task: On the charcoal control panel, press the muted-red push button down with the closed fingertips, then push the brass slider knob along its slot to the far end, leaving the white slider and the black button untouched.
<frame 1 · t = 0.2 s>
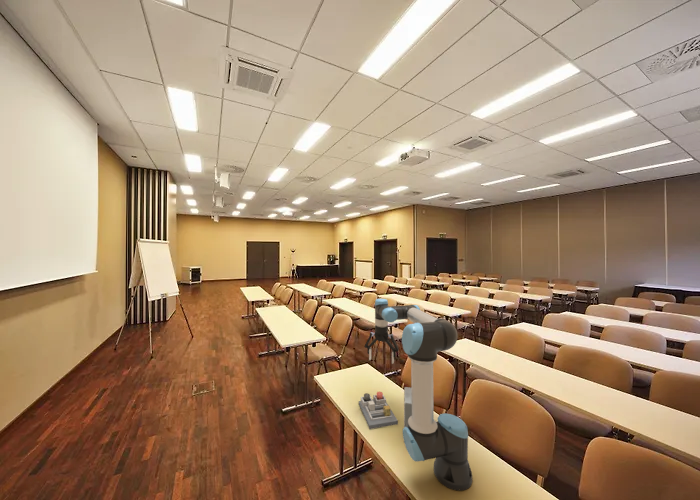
hand: (381, 360, 156), 28 cm above the table, fingers open, 13 cm apart
hard drive box: (411, 434, 135), on the table
panel: (377, 413, 151), on the table
slider brass: (386, 410, 147), point 4 cm above the table, slide at 0.0 cm
button red: (379, 395, 158), point 6 cm above the table, slide at 0.0 cm
slider white: (371, 406, 151), point 4 cm above the table, slide at 0.0 cm
button black: (366, 397, 156), point 6 cm above the table, slide at 0.0 cm
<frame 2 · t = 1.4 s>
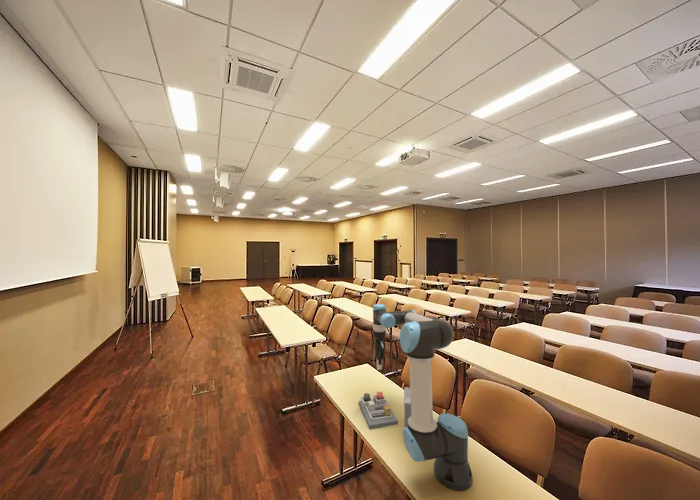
hand: (379, 369, 158), 22 cm above the table, fingers closed
nothing on the table moved.
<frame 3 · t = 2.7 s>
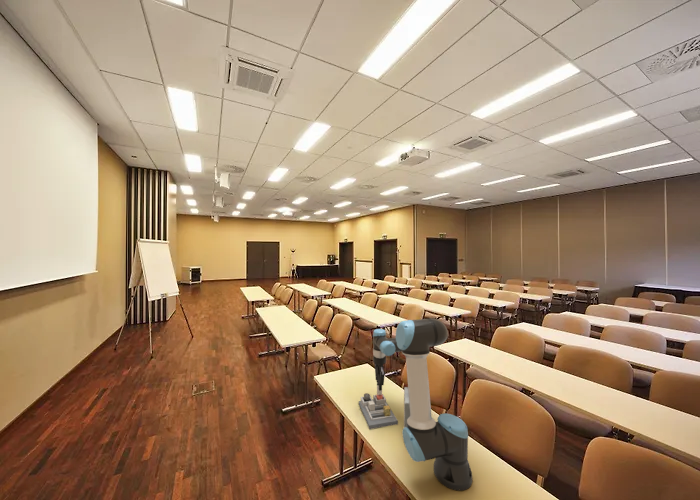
hand: (379, 394, 158), 7 cm above the table, fingers closed
button red: (379, 397, 158), point 5 cm above the table, slide at 1.1 cm, touching gripper
everything else where it was.
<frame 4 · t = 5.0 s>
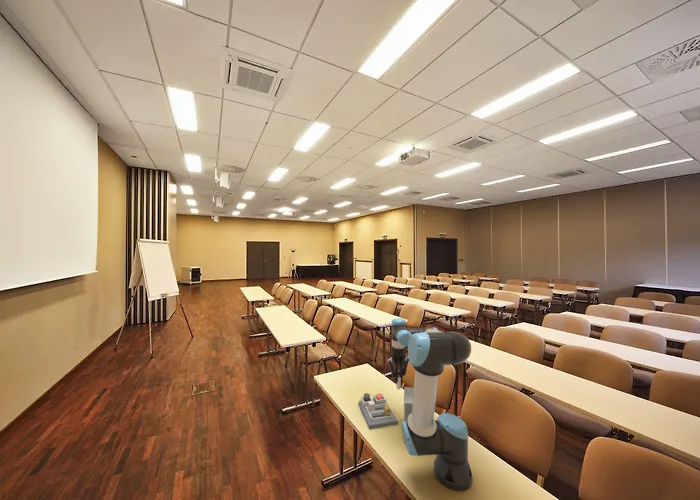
hand: (398, 387, 148), 16 cm above the table, fingers closed
button red: (379, 397, 158), point 5 cm above the table, slide at 1.3 cm
everything else where it was.
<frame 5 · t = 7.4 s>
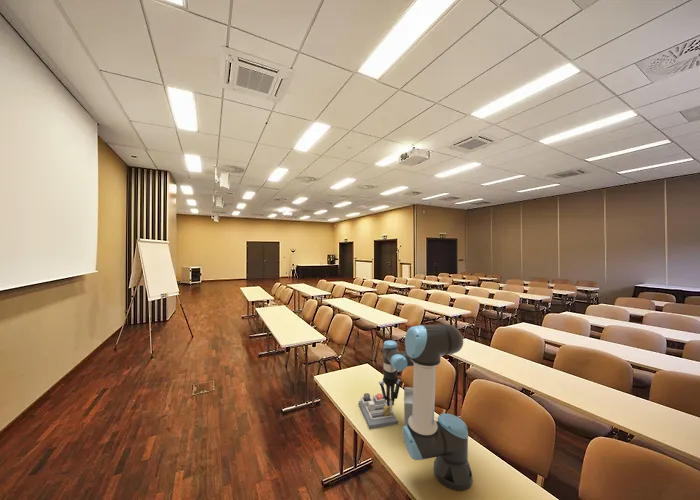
hand: (390, 411, 147), 4 cm above the table, fingers closed
slider brass: (386, 410, 146), point 4 cm above the table, slide at 0.1 cm, touching gripper
everything else where it was.
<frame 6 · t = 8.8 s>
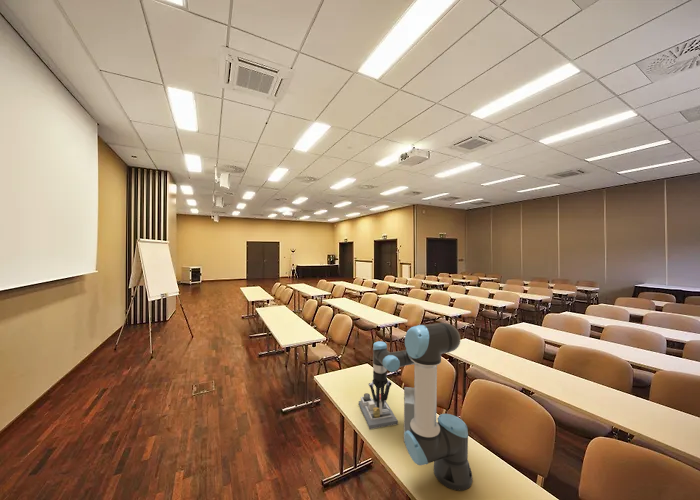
hand: (380, 412, 146), 4 cm above the table, fingers closed
slider brass: (376, 412, 145), point 4 cm above the table, slide at 6.1 cm, touching gripper
everything else where it was.
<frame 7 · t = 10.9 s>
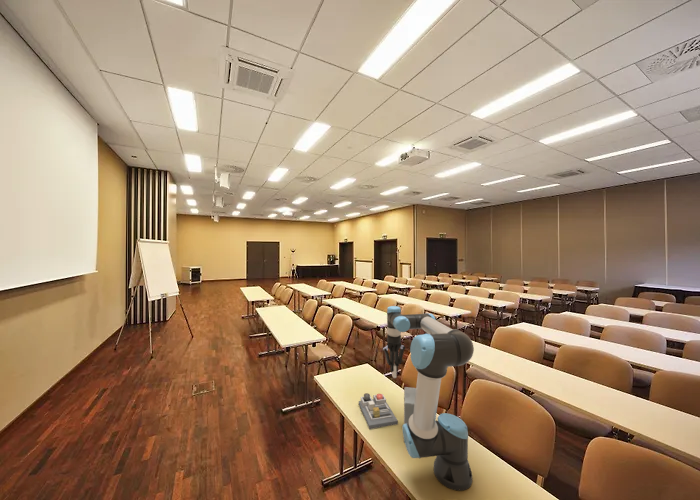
hand: (394, 376, 147), 23 cm above the table, fingers closed
slider brass: (376, 412, 145), point 4 cm above the table, slide at 6.2 cm
everything else where it was.
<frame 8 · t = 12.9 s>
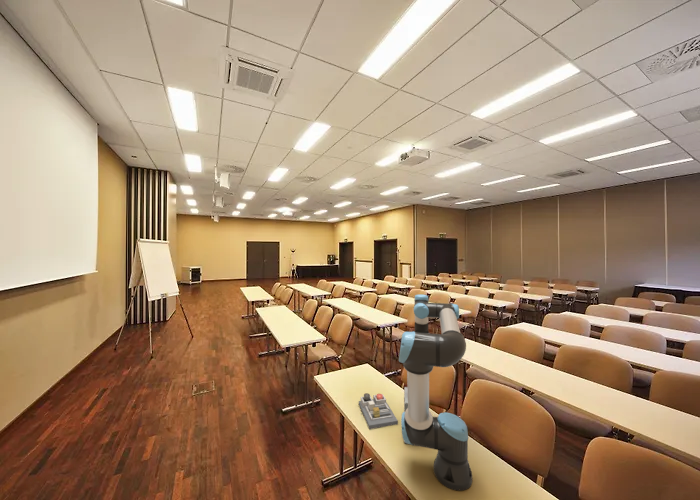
hand: (421, 363, 149), 29 cm above the table, fingers closed
nothing on the table moved.
at the end: button red slide at 1.3 cm; slider brass slide at 6.2 cm; slider white slide at 0.0 cm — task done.
